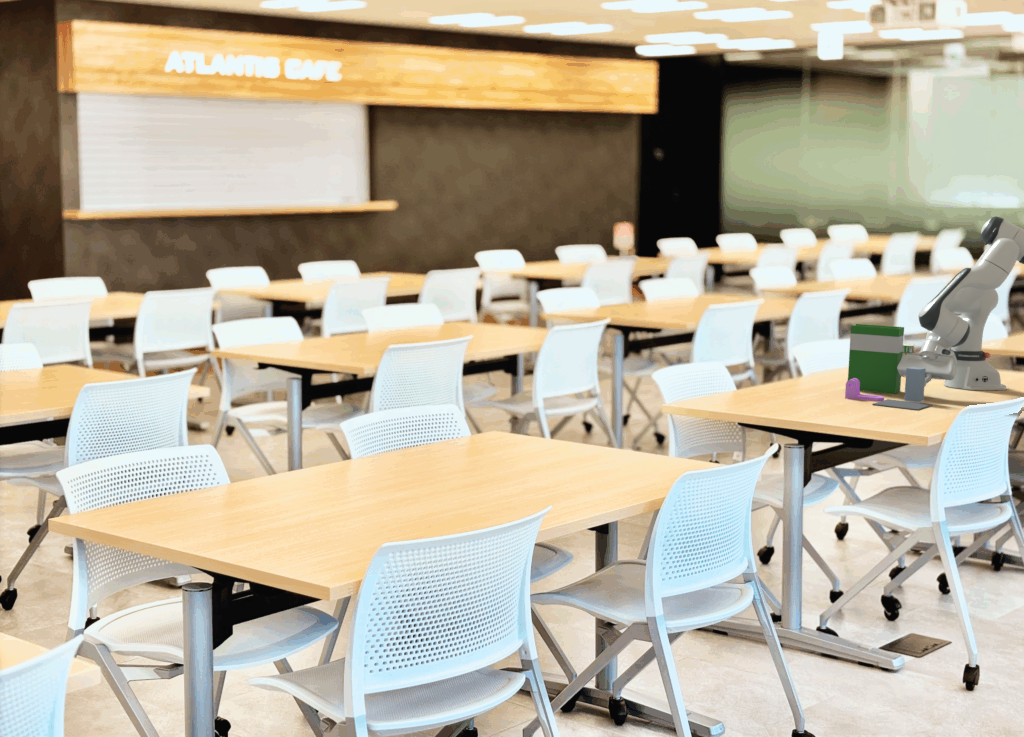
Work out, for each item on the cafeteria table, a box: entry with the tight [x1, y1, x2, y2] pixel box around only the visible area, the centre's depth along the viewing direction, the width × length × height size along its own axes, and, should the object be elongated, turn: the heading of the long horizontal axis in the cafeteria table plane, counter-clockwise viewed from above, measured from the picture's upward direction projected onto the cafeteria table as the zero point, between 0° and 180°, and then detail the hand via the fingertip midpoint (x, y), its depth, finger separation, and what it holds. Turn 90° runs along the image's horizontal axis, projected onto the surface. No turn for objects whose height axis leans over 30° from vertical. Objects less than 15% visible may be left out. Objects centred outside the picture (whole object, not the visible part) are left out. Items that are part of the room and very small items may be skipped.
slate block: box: [903, 367, 926, 403], centre depth 465 cm, size 5×5×12 cm
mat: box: [871, 398, 934, 411], centre depth 458 cm, size 14×16×1 cm
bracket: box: [844, 378, 885, 402], centre depth 470 cm, size 13×6×7 cm, turn 62°
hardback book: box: [847, 323, 905, 395], centre depth 489 cm, size 18×7×24 cm, turn 61°
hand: (920, 385), depth 469 cm, fingers closed
